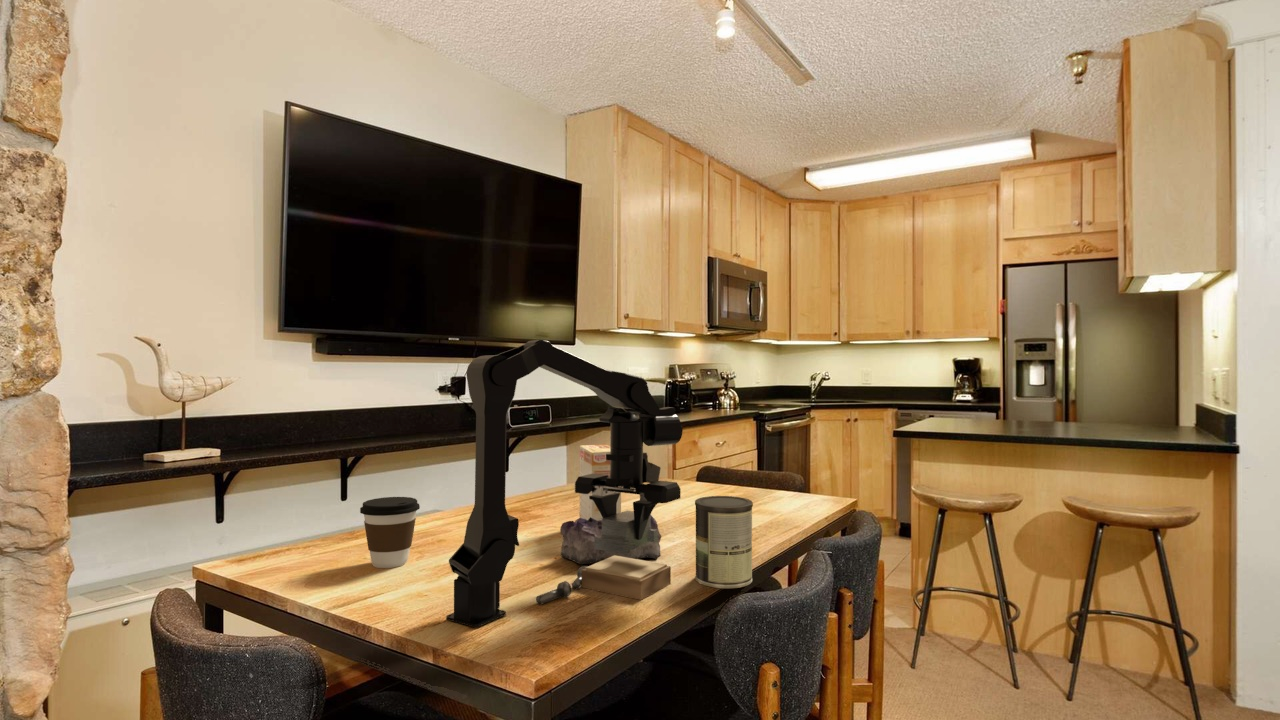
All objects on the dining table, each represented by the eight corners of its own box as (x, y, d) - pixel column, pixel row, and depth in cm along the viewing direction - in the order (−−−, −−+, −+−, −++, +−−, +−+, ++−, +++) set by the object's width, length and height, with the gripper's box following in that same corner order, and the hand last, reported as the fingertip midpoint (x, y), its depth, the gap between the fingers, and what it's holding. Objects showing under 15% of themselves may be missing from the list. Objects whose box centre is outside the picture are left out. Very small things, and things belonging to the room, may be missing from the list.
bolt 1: (540, 609, 109) (547, 600, 108) (533, 596, 110) (540, 587, 109) (566, 598, 114) (573, 590, 113) (559, 586, 115) (566, 578, 114)
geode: (649, 547, 146) (653, 501, 145) (668, 569, 135) (672, 520, 134) (555, 551, 139) (558, 503, 138) (566, 575, 128) (570, 523, 127)
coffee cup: (431, 561, 134) (431, 499, 134) (383, 575, 125) (383, 509, 125) (395, 553, 140) (396, 494, 140) (347, 565, 131) (347, 502, 131)
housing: (625, 554, 113) (626, 524, 113) (594, 548, 117) (594, 519, 117) (657, 541, 122) (657, 512, 122) (627, 536, 125) (627, 508, 126)
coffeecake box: (622, 539, 151) (622, 451, 151) (590, 541, 149) (590, 452, 150) (607, 524, 166) (607, 443, 166) (578, 526, 164) (578, 444, 164)
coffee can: (683, 580, 122) (683, 501, 122) (715, 567, 130) (715, 493, 130) (733, 593, 115) (733, 509, 116) (763, 578, 123) (763, 500, 124)
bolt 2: (582, 590, 117) (583, 576, 117) (568, 588, 117) (569, 574, 117) (590, 580, 123) (591, 566, 123) (577, 578, 123) (579, 564, 123)
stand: (640, 599, 112) (640, 578, 112) (581, 587, 118) (581, 567, 118) (670, 583, 120) (670, 564, 120) (613, 572, 127) (613, 554, 127)
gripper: (695, 446, 121) (694, 535, 121) (608, 440, 131) (607, 522, 131) (664, 453, 112) (664, 548, 112) (573, 445, 122) (572, 533, 121)
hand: (626, 537), depth 119 cm, fingers closed on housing, 5 cm apart
